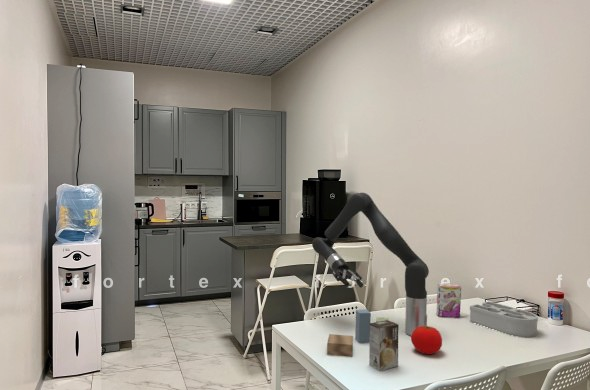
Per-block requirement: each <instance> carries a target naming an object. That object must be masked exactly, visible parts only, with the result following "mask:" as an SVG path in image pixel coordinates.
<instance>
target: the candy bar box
mask: <svg viewBox="0 0 590 390" xmlns="http://www.w3.org/2000/svg"><path fill="white" fill-rule="evenodd" d="M461 301H462V286H460V285H459V284H449V283H448V284H447V283H446V284H443V283H438V284H437V289H436V316H437V317H439V318H453V317H460V318H461Z"/></svg>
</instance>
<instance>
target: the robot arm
mask: <svg viewBox="0 0 590 390" xmlns="http://www.w3.org/2000/svg"><path fill="white" fill-rule="evenodd" d="M360 212H361V213H362V214H363V215H364V216H365V217H366V219H368V221H369V222H370V224H371V227H372V229H373V232H374V234H375V236H376V238H377V239H378V240H379V242H380V243H381V244H382V245H383V246H384V247H385V249H387V251H389V252H391V253H392V254H393V255H395V256H396V257H397V258H399V260H400V261H401V262H402V263H403V265H404V266H405V271H404V289H405V319H404V320H405V321H404V322H405V324H404V325H405V332H404V333H405V334H406V335H408V336H410V337H411V335H412V333H413V331H414V330H415V329H416V328H418V327H420V326H428V314H427V304H428V299H427V298H428V291H427V290H426V280H427V278H428V276H429V274H430V271H429V267H428V266H427V263H425V262H424V261H423V259H421V258H420V256H418V255H417V254H416V252H414V251H413V250H412V248H411V247H410V245H409V244H408V243H407V242H406V240H405V239H404V238H403V236H402V235H401V234H400V233H399V231H398V230H397V229H396V228H395V227H394V226H393V224H391V222H390V221H389V219H387V218H386V216H385V215H384V214H383V213H382V211H381V210H380V209H379V208H378V206H377V205H376V203H375V202H374V200H373V198H372V197H371V196H370V195H369V194H368V193H365V192H356V193H353V194H352V195H351V196H350V197H349V198H348V201H347V202H346V204H345V205H344V207H343V209H342V210H341V211H340V213H339V214H338V215H337V217H336V218H335V219H334V221H333V222H331V223H330V224H329V226H328V227H327V228H326V229H325V231H324V236H325V237H326V238H323V237H319V236H318V237H315V238H314V239H313V240H312V242H311V247H312V248H313V250H314V251H315V252H316V253H317V254H318V255H320V256H321V257H322V258H323V259H324V260H325V262H326V263H327V264H328V266H329V268H330V269H331V270H332V272H331V274H332V276H333V277H334V278H335V280H336V281H337V282H341V283H342V284H343V285H344V286H345V288H349V286H350V282H349V281H351V282H354V283H356V285H357V286H358V287H359V288H360V289H361V288H363V286H364V283H363V282H362V276H361V275H360V274H359V273H358V272H357V271H356V270H353V271H352V270H351V269H350V266H349V263H347V262H346V261H345V260H344V258H343V257H342V256H341V255H340V254H339V253H338V252H337V251H336V249H335V248H333V247H334V244H335V243H336V240H337V239H339V237H340V235H342V234H343V232H344V231H345V229H346V228H347V227H348V224H349V222H350V221H351V220H352V219H353V218H354V217H355V216H356V215H357V214H359V213H360ZM348 280H349V281H348Z"/></svg>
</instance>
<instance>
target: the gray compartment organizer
mask: <svg viewBox="0 0 590 390" xmlns="http://www.w3.org/2000/svg"><path fill="white" fill-rule="evenodd" d="M469 310H470V313H469V314H470V315H469V316H470V317H469V322H470V323H471V322H472V323H471V324H473V323H476V324H475V325H477V324H479V325H478V326H480V325H482V326H481V327H483V326H485V327H484V328H486V327H488V328H487V329H489V328H491V329H490V330H492V329H494V330H493V331H495V330H497V331H496V332H498V331H500V332H499V333H502V332H503V333H502V334H505V333H506V334H505V335H508V334H509V335H508V336H511V335H513V336H512V337H516V336H518V337H517V338H533V336H534V337H535V335H536V336H537V333H538V320H539V317H538V315H537V314H535V313H533V312H531V311H528V310H524V309H520V308H516V307H512V306H508V305H505V304H504V305H503V304H501V303H497V302H493V301H489V300H488V301H485V302H482V304H472V305H470V306H469Z"/></svg>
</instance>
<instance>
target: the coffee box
mask: <svg viewBox="0 0 590 390" xmlns="http://www.w3.org/2000/svg"><path fill="white" fill-rule="evenodd" d="M368 353H369V357H368V358H369V360H368V362H369V366H371V367H372V368H375V369H376V370H377V371H379V372H380V371H384V370H387V369H392V368H395V367H398V366H399V324H398V323H395V322H394V321H391V320H390V319H389V320H385V321H380V322H376V321H375V322H370V343H369V352H368Z"/></svg>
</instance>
